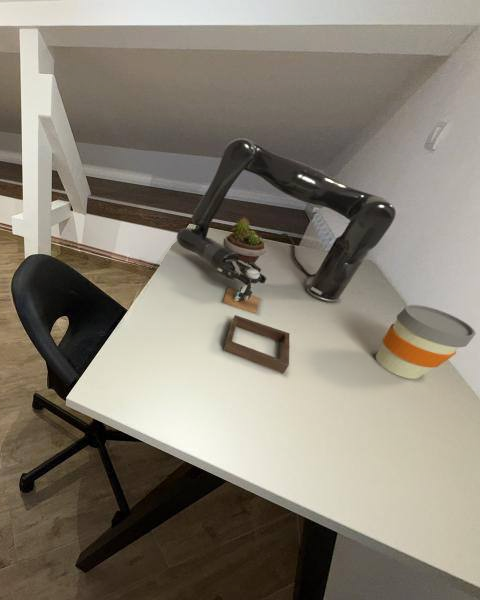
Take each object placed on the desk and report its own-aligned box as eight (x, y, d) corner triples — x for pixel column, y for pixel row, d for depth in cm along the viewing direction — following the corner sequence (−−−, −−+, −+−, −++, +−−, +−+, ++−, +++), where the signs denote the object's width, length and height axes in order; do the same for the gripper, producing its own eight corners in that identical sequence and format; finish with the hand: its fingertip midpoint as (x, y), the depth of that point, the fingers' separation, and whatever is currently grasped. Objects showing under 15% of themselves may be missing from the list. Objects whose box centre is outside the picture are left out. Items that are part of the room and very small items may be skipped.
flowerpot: (250, 261, 126) (271, 213, 115) (259, 279, 114) (283, 227, 103) (213, 255, 128) (230, 208, 117) (218, 272, 116) (237, 221, 105)
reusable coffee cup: (428, 366, 81) (474, 321, 72) (430, 393, 73) (481, 346, 64) (369, 342, 87) (404, 298, 79) (364, 364, 80) (403, 318, 71)
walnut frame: (231, 323, 90) (234, 314, 89) (284, 341, 85) (289, 333, 83) (223, 350, 80) (227, 341, 78) (283, 373, 75) (289, 365, 73)
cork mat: (227, 289, 106) (227, 288, 106) (258, 298, 103) (259, 297, 102) (222, 302, 99) (223, 301, 99) (256, 313, 95) (256, 312, 95)
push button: (241, 306, 97) (253, 279, 91) (227, 297, 101) (237, 271, 95) (254, 300, 100) (266, 274, 94) (239, 291, 104) (251, 266, 98)
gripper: (206, 248, 103) (243, 273, 90) (239, 245, 107) (280, 268, 94) (199, 268, 107) (234, 295, 94) (232, 264, 111) (269, 289, 98)
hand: (257, 281), depth 94 cm, fingers closed on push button, 5 cm apart
